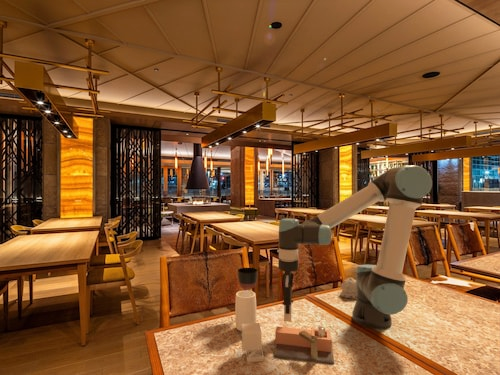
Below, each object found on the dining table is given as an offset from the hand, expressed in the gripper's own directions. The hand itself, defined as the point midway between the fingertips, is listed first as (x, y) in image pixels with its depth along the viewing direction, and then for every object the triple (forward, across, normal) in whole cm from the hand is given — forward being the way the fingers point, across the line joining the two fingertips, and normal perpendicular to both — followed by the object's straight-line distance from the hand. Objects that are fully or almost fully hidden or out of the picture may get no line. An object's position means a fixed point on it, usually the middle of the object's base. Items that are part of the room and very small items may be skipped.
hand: (287, 320), depth 107 cm
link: (+4, +7, +2) cm, 9 cm away
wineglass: (+6, -12, -18) cm, 23 cm away
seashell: (+5, -46, +30) cm, 55 cm away
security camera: (+6, +17, -10) cm, 21 cm away
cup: (+6, 0, -16) cm, 17 cm away
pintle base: (+5, +8, +6) cm, 11 cm away
